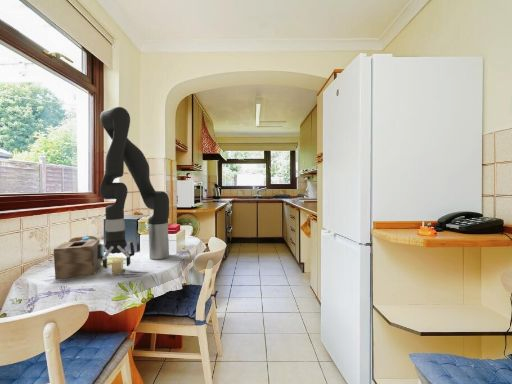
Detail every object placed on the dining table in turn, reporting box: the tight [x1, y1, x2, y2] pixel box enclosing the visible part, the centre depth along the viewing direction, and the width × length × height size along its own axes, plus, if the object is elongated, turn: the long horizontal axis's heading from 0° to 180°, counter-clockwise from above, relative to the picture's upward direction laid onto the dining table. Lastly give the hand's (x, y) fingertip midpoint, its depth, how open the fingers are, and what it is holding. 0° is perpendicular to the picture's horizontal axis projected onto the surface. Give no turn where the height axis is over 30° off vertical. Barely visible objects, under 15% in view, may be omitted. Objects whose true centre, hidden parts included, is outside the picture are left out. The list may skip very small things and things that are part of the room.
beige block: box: [111, 257, 124, 275], centre depth 123 cm, size 4×7×5 cm, turn 19°
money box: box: [53, 239, 101, 279], centre depth 125 cm, size 14×14×12 cm
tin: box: [68, 235, 99, 242], centre depth 161 cm, size 15×3×8 cm, turn 114°
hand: (116, 266), depth 123 cm, fingers open, 8 cm apart
